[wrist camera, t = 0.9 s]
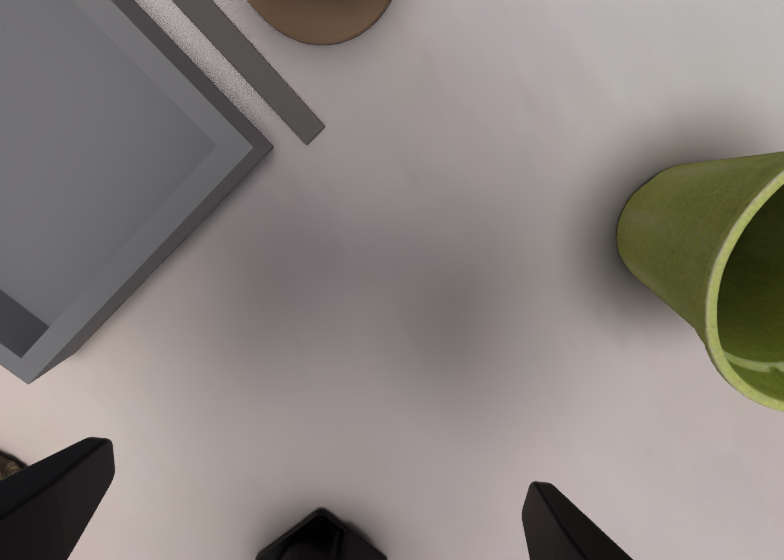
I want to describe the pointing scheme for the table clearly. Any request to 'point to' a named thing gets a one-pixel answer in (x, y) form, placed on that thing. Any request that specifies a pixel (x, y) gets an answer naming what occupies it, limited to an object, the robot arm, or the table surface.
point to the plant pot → (718, 261)
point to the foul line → (252, 66)
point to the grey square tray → (99, 166)
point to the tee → (321, 18)
